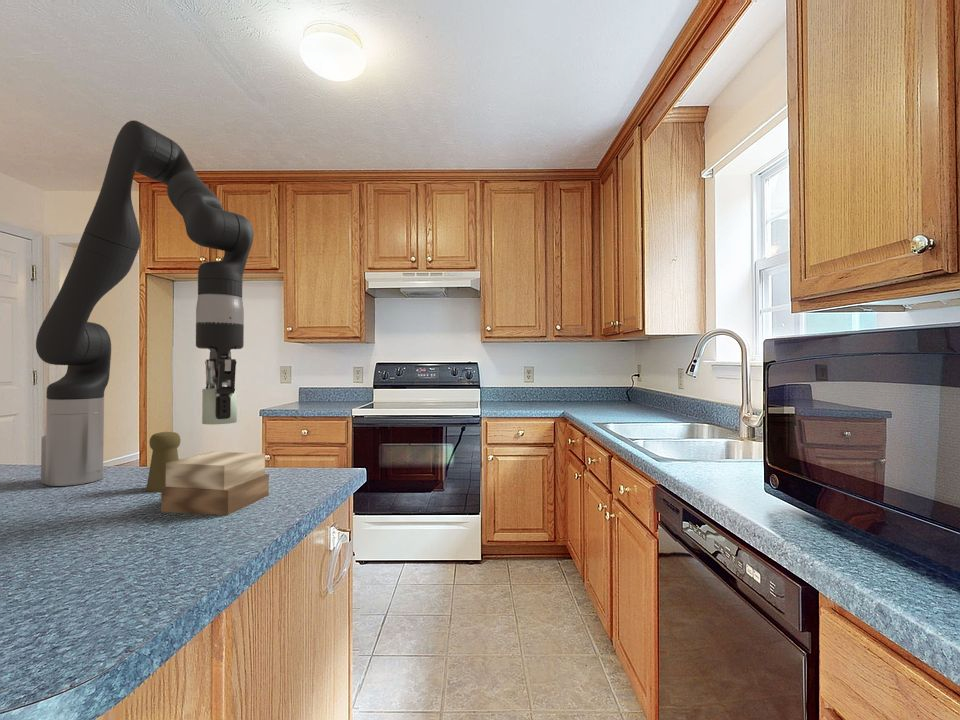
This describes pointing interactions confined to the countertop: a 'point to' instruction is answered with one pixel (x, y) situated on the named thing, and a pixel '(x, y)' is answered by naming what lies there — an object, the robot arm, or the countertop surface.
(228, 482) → the tower top
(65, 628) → the countertop surface
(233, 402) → the pale green cylinder
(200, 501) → the tower base
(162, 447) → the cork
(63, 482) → the robot arm
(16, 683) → the countertop surface
